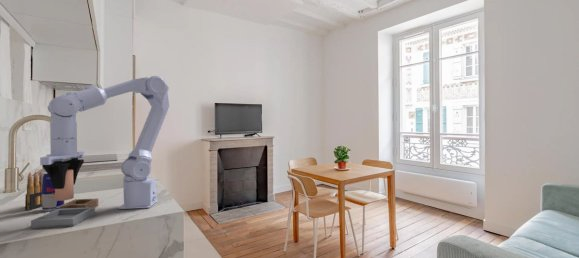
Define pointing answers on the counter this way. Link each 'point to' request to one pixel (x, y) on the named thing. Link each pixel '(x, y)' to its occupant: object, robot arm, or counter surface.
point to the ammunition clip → (34, 192)
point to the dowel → (66, 188)
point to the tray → (63, 217)
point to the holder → (80, 203)
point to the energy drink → (49, 195)
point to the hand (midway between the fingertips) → (64, 186)
